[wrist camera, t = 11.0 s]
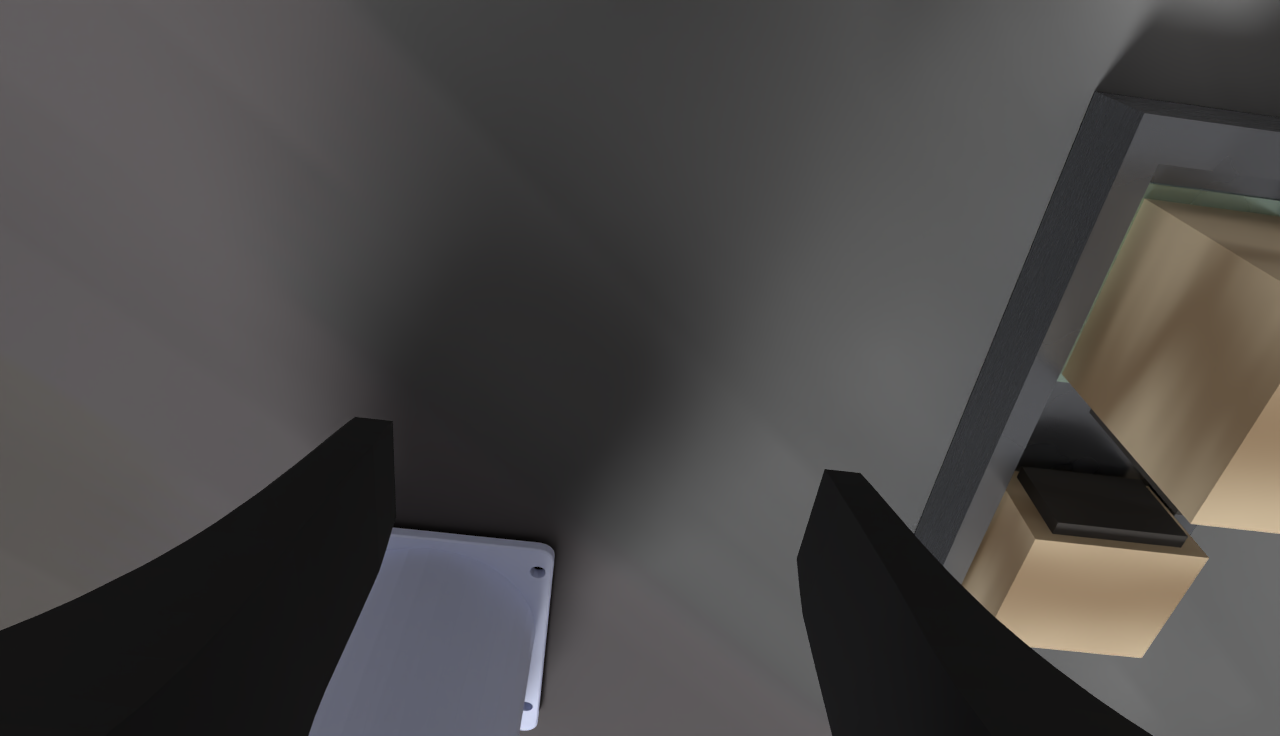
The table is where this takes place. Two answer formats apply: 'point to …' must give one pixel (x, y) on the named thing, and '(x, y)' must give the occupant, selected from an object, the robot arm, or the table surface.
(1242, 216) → the tan wooden block
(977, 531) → the grey rectangular tray
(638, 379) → the table surface
